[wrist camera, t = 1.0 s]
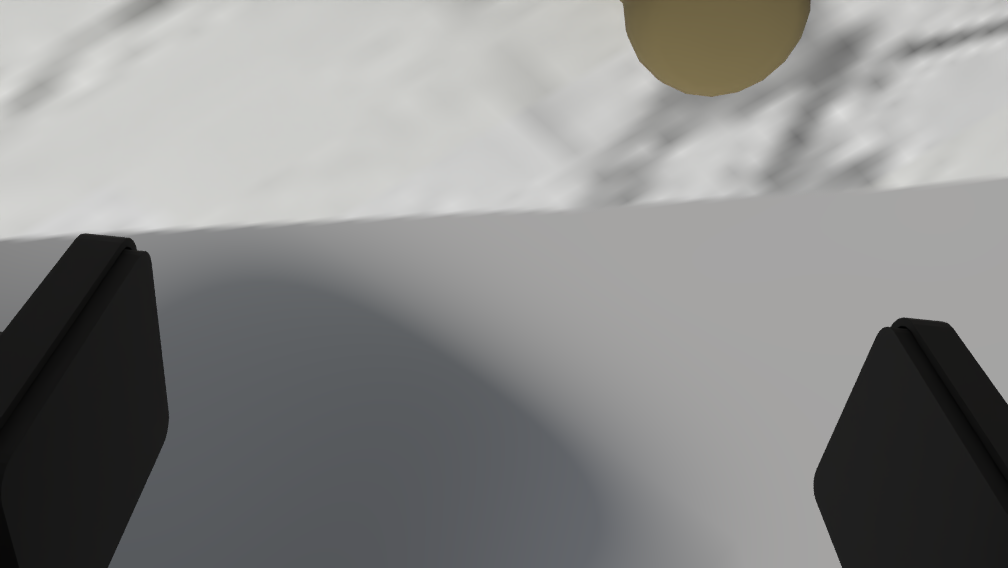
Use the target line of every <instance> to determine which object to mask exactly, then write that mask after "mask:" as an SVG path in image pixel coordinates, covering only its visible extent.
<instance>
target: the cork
mask: <svg viewBox="0 0 1008 568" xmlns="http://www.w3.org/2000/svg"><path fill="white" fill-rule="evenodd" d="M620 1H621V2H622V3H623V6H624V16H625V26H626V32H627V35H628V38H629V40H630V42H631V44H632V46H633V48H634V51H635V53H636V55H637V57H638V59H639V61H640V62H641V63H642V64H643V65H644V66H645V67H646V68H647V69H648V70H649V71H650V72H651V73H652V74H653V75H654V76H655V77H656V78H657V79H658V80H660V81H661V82H663V83H664V84H667V85H669V86H671V87H673V88H675V89H677V90H679V91H681V92H684V93H686V94H693V95H701V96H710V97H713V96H718V95H724V94H730V93H735V92H739V91H741V90H743V89H745V88H747V87H750V86H752V85H754V84H756V83H758V82H760V81H762V80H764V79H765V78H766V77H767V76H768V75H770V74H771V73H772V72H773V71H774V70H775V69H777V68H778V67H779V66H780V65H781V64H782V63H784V62H785V60H786V59H787V58H788V56H789V55H790V53H791V52H792V50H793V49H794V47H795V46H796V45H797V43H798V42H799V40H800V39H801V37H802V34H803V31H804V28H805V25H806V22H807V19H808V16H809V13H810V0H620Z"/></svg>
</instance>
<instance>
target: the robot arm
mask: <svg viewBox="0 0 1008 568" xmlns="http://www.w3.org/2000/svg"><path fill="white" fill-rule="evenodd" d="M168 422H169V411H168V403H167V394H166V385H165V376H164V367H163V360H162V350H161V341H160V332H159V324H158V315H157V306H156V297H155V289H154V280H153V271H152V263H151V258H150V255H149V254H148V252H146V251H137V249H136V245H135V243H134V241H133V240H132V239H131V238H125V237H115V236H106V235H96V234H86V233H85V234H80V235H79V236H78V237H77V238H76V239H75V240H74V242H73V243H72V244H71V246H70V247H69V248H68V249H67V251H66V252H65V253H64V255H63V256H62V257H61V258H60V260H59V261H58V262H57V263H56V265H55V266H54V267H53V269H52V270H51V271H50V272H49V274H48V275H47V276H46V278H45V279H44V280H43V281H42V283H41V284H40V285H39V287H38V288H37V289H36V290H35V292H34V293H33V294H32V296H31V297H30V298H29V299H28V301H27V302H26V303H25V304H24V306H23V307H22V308H21V310H20V311H19V312H18V313H17V315H16V316H15V317H14V319H13V320H12V321H11V322H10V324H9V325H8V326H7V328H6V329H5V330H4V331H3V332H0V568H108V566H109V564H110V561H111V559H112V557H113V555H114V553H115V550H116V548H117V546H118V544H119V542H120V539H121V537H122V535H123V533H124V530H125V528H126V526H127V524H128V521H129V519H130V517H131V515H132V513H133V510H134V508H135V506H136V504H137V502H138V499H139V497H140V495H141V493H142V491H143V488H144V486H145V484H146V482H147V479H148V477H149V475H150V473H151V471H152V468H153V466H154V464H155V462H156V459H157V457H158V455H159V453H160V450H161V448H162V446H163V444H164V441H165V438H166V434H167V430H168ZM814 495H815V499H816V502H817V504H818V507H819V510H820V512H821V515H822V517H823V520H824V522H825V525H826V527H827V530H828V532H829V535H830V538H831V540H832V543H833V545H834V548H835V550H836V553H837V555H838V558H839V561H840V563H841V566H842V568H1008V404H1007V403H1006V402H1005V400H1004V399H1003V397H1002V396H1001V395H1000V393H999V392H998V390H997V389H996V388H995V386H994V385H993V384H992V382H991V381H990V379H989V378H988V376H987V375H986V374H985V372H984V371H983V370H982V368H981V367H980V365H979V364H978V363H977V361H976V360H975V358H974V357H973V355H972V354H971V353H970V351H969V350H968V349H967V347H966V346H965V344H964V343H963V342H962V340H961V339H960V337H959V336H958V334H957V333H956V332H955V330H954V329H953V328H952V327H951V326H950V325H949V324H948V323H945V322H941V321H932V320H922V319H913V318H900V319H898V320H896V321H895V322H894V323H893V324H892V326H891V327H885V328H882V329H881V330H880V331H879V333H878V335H877V336H876V338H875V341H874V343H873V345H872V347H871V349H870V352H869V354H868V356H867V358H866V361H865V363H864V365H863V367H862V369H861V372H860V374H859V376H858V378H857V381H856V383H855V385H854V387H853V389H852V392H851V394H850V396H849V398H848V401H847V403H846V405H845V407H844V409H843V412H842V414H841V416H840V419H839V421H838V423H837V425H836V427H835V430H834V432H833V434H832V436H831V438H830V441H829V443H828V445H827V448H826V450H825V452H824V454H823V456H822V458H821V461H820V463H819V465H818V468H817V470H816V473H815V477H814Z"/></svg>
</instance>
